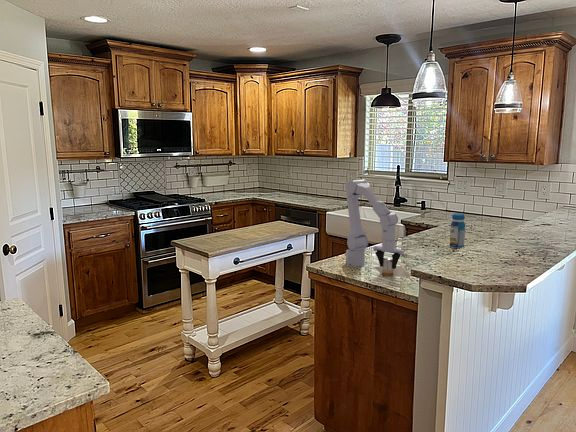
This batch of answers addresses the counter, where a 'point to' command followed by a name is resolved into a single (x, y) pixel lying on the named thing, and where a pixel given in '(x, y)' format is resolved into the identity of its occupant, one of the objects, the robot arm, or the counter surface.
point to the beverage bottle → (457, 231)
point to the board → (397, 272)
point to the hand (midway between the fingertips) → (387, 267)
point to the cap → (387, 264)
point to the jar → (387, 272)
